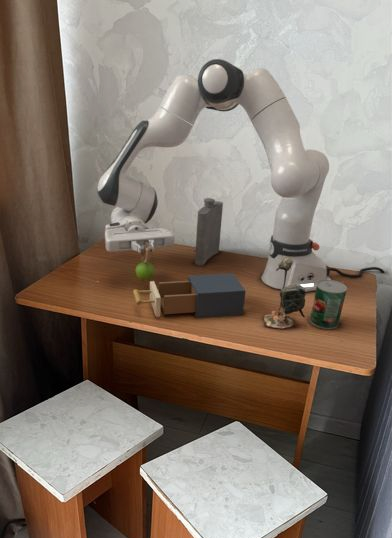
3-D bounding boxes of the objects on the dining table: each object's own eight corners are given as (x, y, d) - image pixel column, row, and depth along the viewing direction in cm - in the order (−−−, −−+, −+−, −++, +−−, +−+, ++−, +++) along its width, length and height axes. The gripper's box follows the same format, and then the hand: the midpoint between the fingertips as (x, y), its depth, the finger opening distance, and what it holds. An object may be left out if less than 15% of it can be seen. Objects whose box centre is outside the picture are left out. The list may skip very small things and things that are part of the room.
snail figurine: (140, 285, 142) (139, 245, 135) (133, 277, 146) (132, 237, 140) (158, 283, 144) (158, 243, 137) (150, 275, 148) (150, 236, 142)
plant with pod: (302, 333, 131) (317, 263, 120) (260, 327, 133) (270, 257, 122) (303, 319, 138) (317, 251, 127) (263, 313, 139) (272, 245, 129)
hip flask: (201, 266, 165) (205, 206, 155) (190, 263, 167) (194, 204, 156) (220, 251, 178) (225, 194, 167) (209, 248, 179) (214, 192, 168)
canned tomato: (344, 325, 136) (353, 288, 131) (324, 331, 133) (332, 294, 127) (323, 312, 142) (331, 277, 136) (303, 319, 138) (310, 282, 132)
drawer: (137, 318, 132) (137, 298, 129) (132, 300, 140) (132, 282, 137) (200, 313, 136) (201, 295, 132) (192, 297, 144) (193, 279, 141)
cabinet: (196, 317, 135) (197, 293, 131) (186, 299, 144) (188, 275, 140) (242, 314, 138) (245, 290, 134) (230, 296, 148) (233, 273, 144)
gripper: (166, 240, 155) (181, 256, 144) (101, 245, 148) (111, 263, 137) (166, 220, 151) (181, 236, 141) (100, 225, 145) (110, 241, 134)
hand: (146, 249), depth 139 cm, fingers closed on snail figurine
